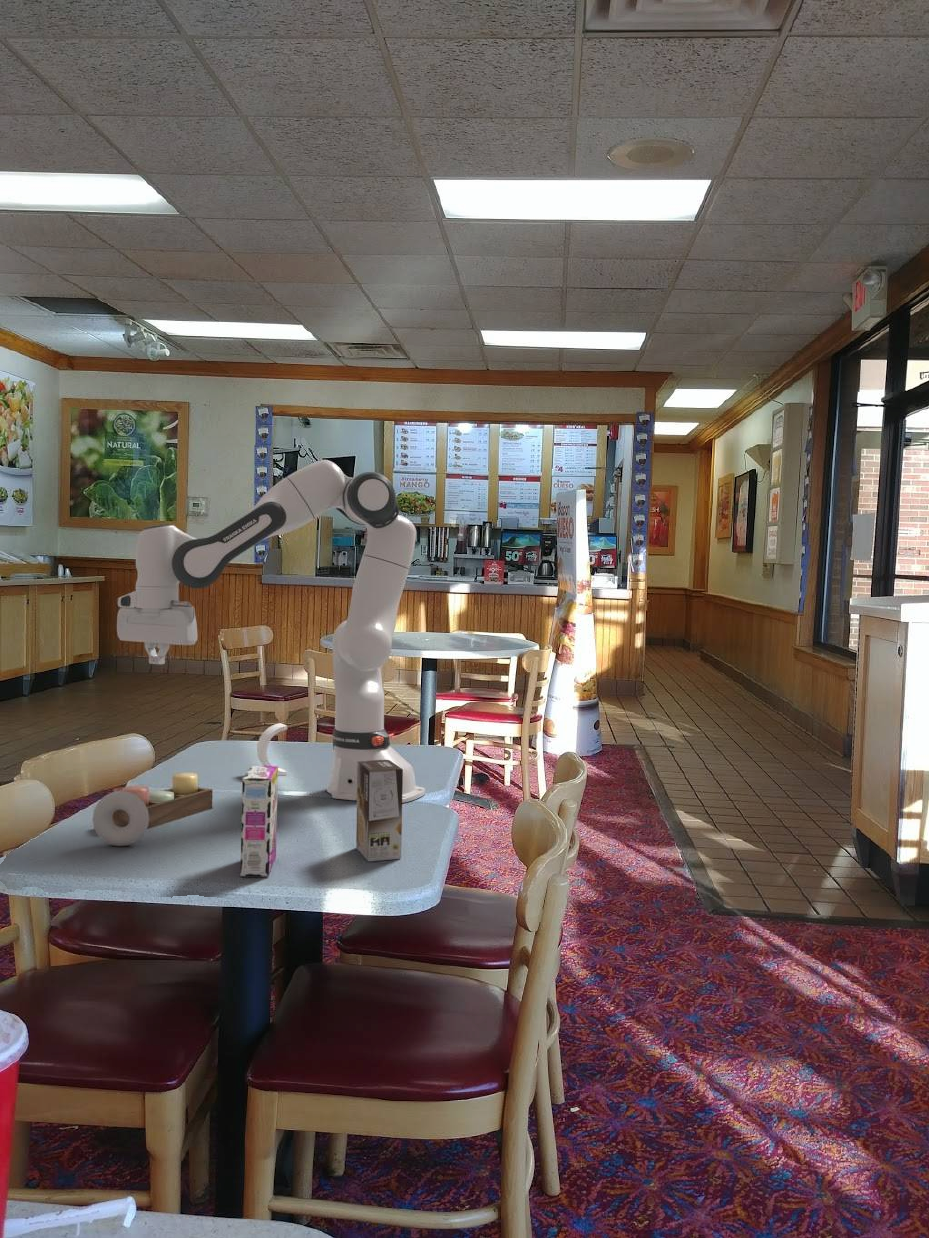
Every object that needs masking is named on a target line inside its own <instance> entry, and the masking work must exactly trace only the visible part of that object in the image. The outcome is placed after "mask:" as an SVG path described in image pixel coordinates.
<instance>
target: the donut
mask: <svg viewBox="0 0 929 1238" xmlns="http://www.w3.org/2000/svg"><path fill="white" fill-rule="evenodd" d="M117 810H124V811H126V812H127V813H128V815H129V818H130V821H129V824H128V825H127V826H125V827H118V826H116V825H115V824H114V822H113V819H112V816H113V813H114V812H115V811H117ZM92 823H93V829H94V830H95V833H96V834H97V836H98V837H99V838H100V839H101V840H102V841H103V842H105V843H107V844H109V845H111V846H117V847H125V846H129V845H132V844H133V843H136V842H138V841H139V840H140V839H141V838H142V837H143V836H144V835H145V833H146V832H147V827H148V823H149V813H148V809H147V807H146V805H145V803H144V802H143V801H142V800H141V799H140V798H139V797H138V796H137V795H135V794H133V793H131V792H126V791H122V790H119V791H118V790H117V791H112V792H110V793H108V794H106V795H104V796H103V797H102V798H101V799H100V800H99V801H98V802H97V804H96V806H95V807H94V810H93V813H92Z"/></svg>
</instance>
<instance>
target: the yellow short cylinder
mask: <svg viewBox="0 0 929 1238" xmlns="http://www.w3.org/2000/svg"><path fill="white" fill-rule="evenodd" d="M198 778H199V777H198V774H197V773H195V772H182V773H175V774H172V778H171V779H172V780H171V781H172V783H171V784H172V787H171V788H172V792H173V793H174V794H180V795H189V794H193V793H196V792H198V787H199V786H198V785H199V784H198V782H199V781H198V780H199V779H198Z"/></svg>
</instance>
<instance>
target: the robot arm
mask: <svg viewBox="0 0 929 1238" xmlns="http://www.w3.org/2000/svg"><path fill="white" fill-rule="evenodd" d="M397 499H398V498H397V495H396V491H395V487H394V485H393V484H392V482H391V481H390V479H389V478H387V477H386V476H385V475H383V474H381V473H379V472H375V471H366V472H362V473H360V474H358V475H356V476H355V477H354V476H353V477H349V476H347V475H346V474H345V473H344V471H342V469H341V468H340V466H338V465H337V464H336V463H335V462H333V461H331V460H328V459H322V460H319V461H318V460H317V461H315V462H313V463H311V464H308V465H306V466H303V467H302V468H300V469H298V470H296V471H294V472H292V473H291V474H289V475H287V476H286V477H284V478H283V479H280V481H279V482H277V483H276V484H275V485H273V486H272V487H271V488H270V489H269V490H267V491H266V492H265V493H264V494H263V495H262V496H261V498H259V500H258V501H257V503H255V505H254V506H253V507H252V508H251V509H250V510H249V511H248V512H247V513H246V514H244V515H243V516H242V517H241V518H239V519H237V520H236V521H234V522H232V523H231V524H229V525H228V526H226V527H224V528H223V529H221V530H220V531H218V532H217V533H215V534H213V535H210V536H208V537H203V538H202V537H201V538H196V537H194V536H191V535H189V534H188V533H186V532H183V531H182V530H181V529H179V528H178V527H177V526H175V525H173V524H168V523H166V524H158V525H157V524H156V525H152V526H148V527H147V526H146V527H145V528H143V529H142V530H141V531H140V532H139V534H138V536H137V540H136V550H135V568H136V571H137V579H136V582H135V590H133V591H131V592H130V593H127V594H125V595H121V596H119V597H118V598H117V606H118V607H119V609H118V611H117V616H116V619H117V620H116V634H117V638H119V640H120V641H124V642H125V641H126V642H136V643H137V642H140V643H144V649H145V651H146V653H147V655H148V663H149V664H150V665H152V664H153V665H165V663H166V655H167V654H168V652H169V649H170V645H178V646H192V645H195V644H196V642H197V641H198V626H197V618H196V610H195V607H194V605H192V604H191V603H190V602H189V601H185V600H184V601H180V600H179V594H180V593H179V592H180V591H179V584H182V585H184V586H186V587H188V588H191V589H203V588H207V587H209V586H211V585H212V584H214V583H215V582H216V581H217V580H218V579H219V577H220V576H221V574H222V572H223V571H224V570H225V568H226V566H227V565H228V564H229V563H230V562H231V561H233V560H234V559H236V558H237V557H239V556H240V555H241V554H244V553H245V552H246V551H248V550H249V549H251V548H252V547H254V546H255V545H257V544H258V543H261V542H262V541H264V540H266V539H269V538H271V537H275V536H279V535H284V534H287V533H290V532H293V531H296V530H298V529H300V528H302V527H304V526H305V525H307V524H309V523H310V522H312V521H314V520H316V519H318V517H320V516H321V515H323V514H324V513H326V512H328V511H330V510H333V509H335V510H337V511H338V512H340V513H341V514H342V515H343V516H344V517H345V518H346V519H348V520H349V521H350V522H353V523H354V524H357V525H361V526H365V527H366V531H367V539H366V544H365V548H364V551H363V553H362V556H361V560H360V562H359V566H358V570H357V573H356V576H355V579H354V582H353V586H352V590H351V591H352V592H351V598H350V604H349V610H348V613H347V618H346V620H344V621H342V622H341V623H340V624H339V625H338V626H337V627H336V628H335V630H334V632H333V635H332V639H331V641H332V647H331V648H332V669H333V681H334V694H335V701H334V705H335V706H334V707H335V709H334V711H335V712H334V713H335V714H334V716H335V717H334V728H333V730H332V748H333V759H332V766H331V771H330V776H329V781H328V785H327V788H326V791H327V792H328V793H329V794H330V795H331V798H332V799H338V800H349V801H357V762H359V761H371V760H390V761H391V762H393V763H394V764H396V765H397V766H399V767H400V768H402V769H403V788H402V804H404V803H407V802H411V801H415V800H417V799H419V798H421V797H423V796H424V795H425V794H426V788H425V787H424V786H423V787H422V786H420V785H416V778H415V772H414V771H415V770H414V768H413V766H412V765H411V763H409V762H408V761H407V760H406V759H405V758H403V757H402V756H401V754H399V753H398V752H397V751H396V750H395V749H394V748H393V747H392V746H391V741H390V740H393V739H395V737H394V735H395V733H390V734H389V733H387V731H386V729H385V725H384V724H385V691H384V685H383V679H382V677H383V676H382V668H381V667H382V666H383V665H384V664H385V663H387V662H388V660H389V658H390V656H391V653H392V645H393V644H392V643H393V640H394V635H395V631H396V630H395V629H396V624H397V618H398V612H399V611H398V610H399V606H400V602H401V597H402V595H403V591H404V587H405V585H406V581H407V578H408V575H409V571H410V567H411V565H412V561H413V558H414V557H413V556H414V552H415V544H416V538H417V529H416V527H415V525H414V523H413V522H411V520H409V519H408V518H407V517H405V516H403V515H401V514H400V509H399V504H398V500H397ZM156 649H158V652H157V650H156Z"/></svg>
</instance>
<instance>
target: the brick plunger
mask: <svg viewBox="0 0 929 1238" xmlns="http://www.w3.org/2000/svg"><path fill="white" fill-rule="evenodd" d="M121 791H126V792H131V793H133V794H135V795H137V796H138V797H139V798H140V799H141V800H142V801H143V802H144V803H145V805H146V807H147V806H149V793H150V792H149V791H150V788H149V786H147V785H127V786H124V787H122V788H121Z"/></svg>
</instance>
